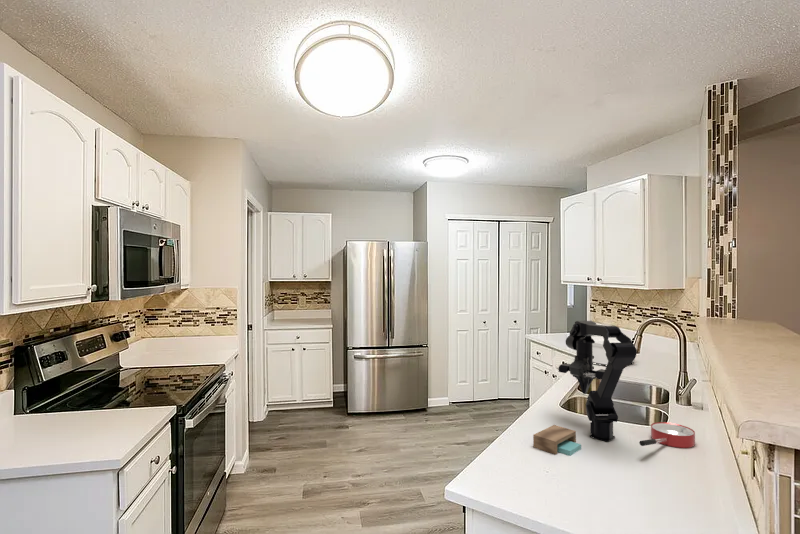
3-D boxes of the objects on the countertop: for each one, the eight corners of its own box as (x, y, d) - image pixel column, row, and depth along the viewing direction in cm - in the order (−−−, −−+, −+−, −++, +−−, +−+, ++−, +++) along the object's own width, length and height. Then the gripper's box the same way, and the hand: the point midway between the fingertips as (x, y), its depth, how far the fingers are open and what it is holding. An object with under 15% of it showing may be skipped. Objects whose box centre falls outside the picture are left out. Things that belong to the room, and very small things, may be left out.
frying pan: (675, 471, 127) (675, 449, 128) (627, 457, 137) (627, 437, 137) (698, 441, 150) (698, 423, 150) (656, 431, 159) (656, 414, 159)
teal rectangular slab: (581, 450, 143) (581, 444, 143) (570, 457, 138) (570, 451, 138) (552, 441, 150) (552, 436, 150) (541, 448, 145) (541, 442, 145)
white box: (645, 365, 274) (645, 341, 274) (624, 371, 257) (624, 346, 257) (594, 356, 301) (593, 335, 301) (571, 361, 284) (571, 339, 284)
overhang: (575, 443, 148) (575, 430, 148) (555, 454, 138) (555, 441, 138) (554, 436, 154) (554, 424, 154) (533, 447, 144) (533, 434, 144)
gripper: (551, 352, 167) (551, 392, 167) (600, 359, 154) (600, 403, 153) (565, 349, 175) (565, 387, 175) (612, 355, 161) (612, 397, 161)
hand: (584, 393), depth 166 cm, fingers closed
